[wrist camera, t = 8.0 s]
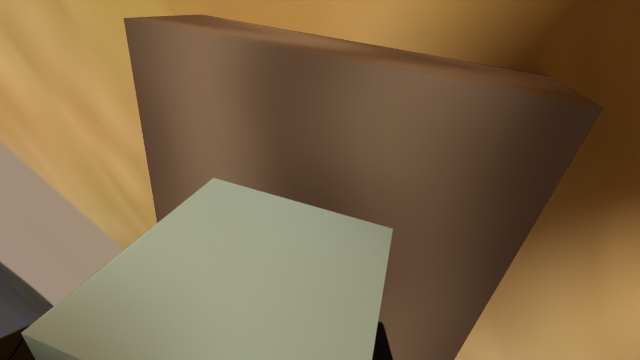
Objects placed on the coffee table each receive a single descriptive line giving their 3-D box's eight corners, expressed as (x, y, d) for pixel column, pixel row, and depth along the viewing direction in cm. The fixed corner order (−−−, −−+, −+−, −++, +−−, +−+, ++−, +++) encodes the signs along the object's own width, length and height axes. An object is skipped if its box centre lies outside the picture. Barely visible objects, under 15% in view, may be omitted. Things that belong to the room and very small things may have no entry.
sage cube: (393, 228, 8) (353, 478, 4) (355, 347, 11) (306, 575, 6) (213, 177, 9) (20, 333, 5) (218, 298, 11) (96, 468, 7)
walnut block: (544, 73, 10) (602, 107, 7) (430, 316, 16) (431, 398, 13) (206, 14, 12) (123, 18, 9) (217, 248, 18) (170, 302, 15)
